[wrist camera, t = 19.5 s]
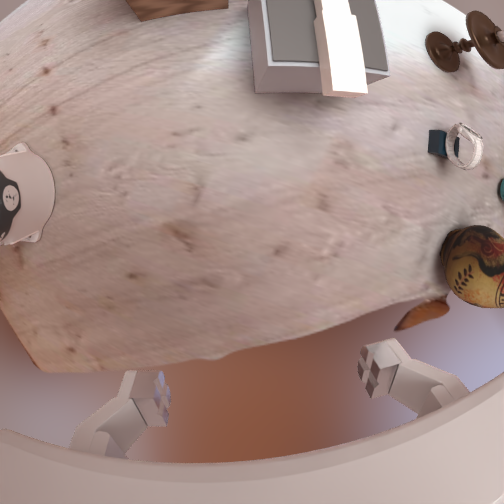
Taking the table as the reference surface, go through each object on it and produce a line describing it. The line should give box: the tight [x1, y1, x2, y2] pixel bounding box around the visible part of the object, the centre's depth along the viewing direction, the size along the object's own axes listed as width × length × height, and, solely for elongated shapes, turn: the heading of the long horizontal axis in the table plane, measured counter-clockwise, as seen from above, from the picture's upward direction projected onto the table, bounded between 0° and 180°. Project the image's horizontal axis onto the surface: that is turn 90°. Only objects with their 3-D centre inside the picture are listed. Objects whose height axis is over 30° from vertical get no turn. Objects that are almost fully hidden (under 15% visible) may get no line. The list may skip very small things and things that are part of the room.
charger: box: [314, 0, 368, 98], centre depth 20 cm, size 4×16×3 cm, turn 4°
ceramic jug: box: [440, 225, 504, 308], centre depth 35 cm, size 17×15×30 cm
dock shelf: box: [247, 0, 390, 93], centre depth 28 cm, size 14×16×15 cm
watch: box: [428, 123, 483, 170], centre depth 36 cm, size 6×8×11 cm
